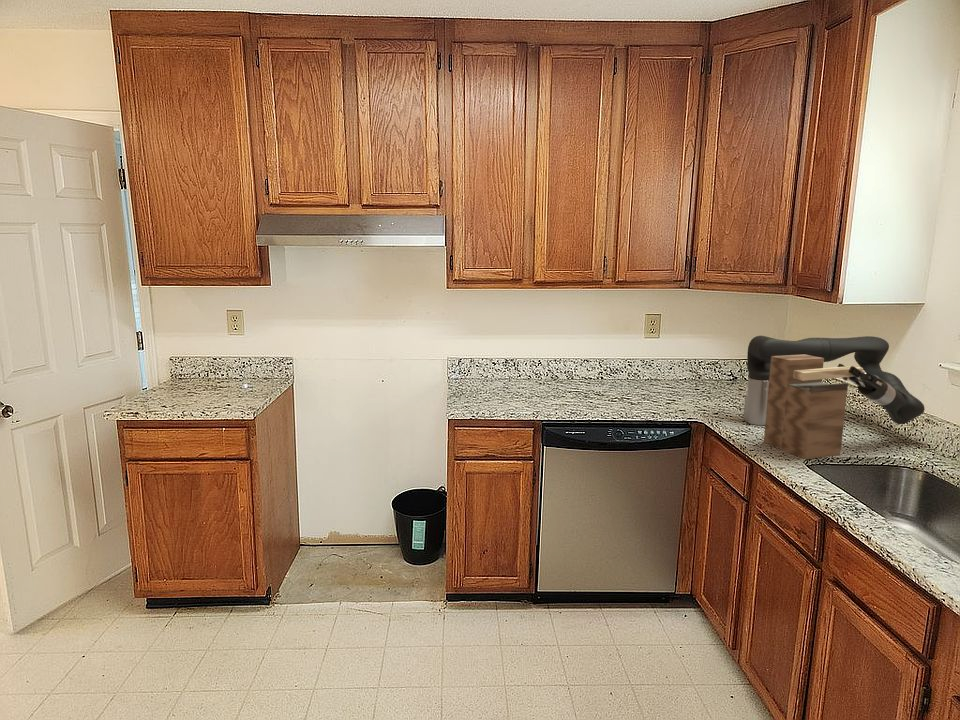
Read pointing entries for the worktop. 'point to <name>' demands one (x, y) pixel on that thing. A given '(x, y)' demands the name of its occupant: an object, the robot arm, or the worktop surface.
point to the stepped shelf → (803, 409)
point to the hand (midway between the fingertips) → (844, 367)
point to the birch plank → (823, 373)
